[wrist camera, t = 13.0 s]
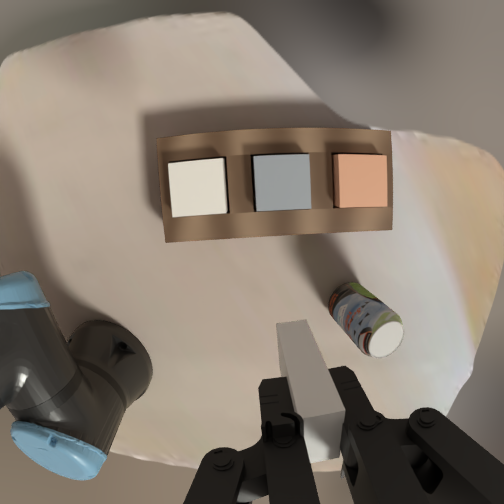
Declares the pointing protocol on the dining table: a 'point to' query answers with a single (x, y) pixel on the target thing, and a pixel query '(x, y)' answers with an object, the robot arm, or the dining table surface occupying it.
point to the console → (243, 190)
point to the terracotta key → (359, 180)
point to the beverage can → (366, 320)
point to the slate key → (282, 182)
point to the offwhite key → (198, 187)
